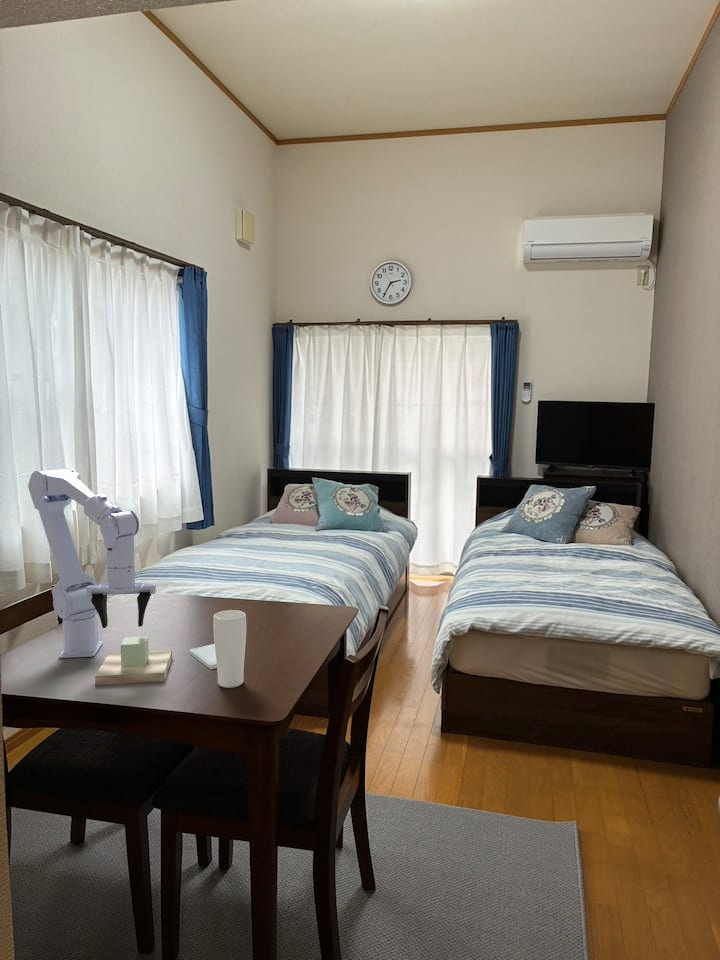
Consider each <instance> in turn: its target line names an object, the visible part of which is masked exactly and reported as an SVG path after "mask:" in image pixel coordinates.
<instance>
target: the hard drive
mask: <svg viewBox="0 0 720 960" xmlns="http://www.w3.org/2000/svg"><path fill="white" fill-rule="evenodd" d="M188 654H189V655H190V656H192V657H193V658H195V660H197V661H199V662H200V663H201V664H203V665H204V666H206V667H207V668H208V669H210V670H214V669H217V662H216V653H215V644H214V643H212V644H207V645H203V646H198V647H195V648H190V649H189V650H188Z"/></svg>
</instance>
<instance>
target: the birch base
mask: <svg viewBox="0 0 720 960" xmlns="http://www.w3.org/2000/svg"><path fill="white" fill-rule="evenodd" d="M172 661H173V649H163V650H162V649H161V650H160V649H159V650H149V659H148V661H147V663H146V665H145V666H138V667H121V651H120V652H119V651H116V652H108V654H107V656H106V657H105V659H104V661H103V662H102V664H101V666H100V667H99V669H98V670H97V672H96V674H95V675H94V679H95V680H94V681H95V682H94V683H95V684H94V685H95V686H107V685H123V684H124V685H126V684H127V685H128V684H145V683H146V684H147V683H164V682H165V681H166V678H167V675H168V673H169V669H170V666H171V663H172Z"/></svg>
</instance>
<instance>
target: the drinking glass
mask: <svg viewBox="0 0 720 960" xmlns="http://www.w3.org/2000/svg"><path fill="white" fill-rule="evenodd" d="M212 623H213V624H212V626H213V629H212V630H213V641H214V642H213V644H215V653H216V662H217V668H216V670H217V683H218V685H219V686H220V687H222V688H226V689H229V688H230V689H232V688H237V687H239V686H241V685H242V684H243V683H244V679H245V678H244V672H245V671H244V669H245V658H246V657H245V656H246V645H247V644H246V642H247V615H246V613H245V612H244V611H241V610H236V609H234V610H233V609H229V610H227V609H226V610H221V611H218V612H216V613H214V614H213V622H212Z"/></svg>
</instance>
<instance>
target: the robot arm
mask: <svg viewBox="0 0 720 960" xmlns="http://www.w3.org/2000/svg"><path fill="white" fill-rule="evenodd" d="M28 481H29V482H28V485H27V487H28V491H29V494H30V497H31V501H32V504H33V506H34V509H36V510H37V512H38V514H39V517H40V520H41V523H42V527H43V529H44V533H45V536H46V540H47V542H48V545H49V548H50V552H51V555H52V558H53V562H54V565H55V568H56V571H57V574H58V577H59V579H58V580H57V582H56V584H54V586H53V587H52V589H51V594H52V600H53V601H52V603H53V604H52V606H53V609H54V612H55V614H56V615H57V616H58V618H59V619H62V635H63V636H62V637H63V639H62V640H63V650H62V651H61V652H60V654H59V655H58V659H68V658H69V659H70V658H71V659H72V658H88V657H89V658H91V657H95V656H96V654H97V653H98V651H99V650H100V649H101V647H102V645H103V644H104V643H103V641H101V640H99V624H98V623H99V621H98V617H99V619H100V623H101V628H102V629H106V628H107V627H108V622H109V621H108V619H109V618H108V612H107V611H108V610H107V608H108V605H107V604H108V596H110V595H112V596H113V595H115V596H116V595H136V594H137V597H136V602H137V612H138V616H137V618H138V619H137V621H138V622H137V624H138V625H137V627H139V628H142V627H143V625H144V618H145V617H144V616H145V613H146V609H147V606H148V604H149V601H150V598H151V596H152V595H155V594H156V593H157V583H155V582H154V583H151V582H150V583H149V582H148V583H145V582H136V574H135V573H136V572H135V571H136V570H135V567H136V566H135V565H136V563H135V540H134V538H135V535H137V534H138V532H139V529H140V521H139V518H138V516H137V515H136V513H135V512H134V511H133V510H132V509H127V510H125V509H121V508H120V507H119V506H118V505H116V504H115V503H114V502H112V501H111V500H109V499H108V496H107V495H105V494H94V493H93V491H91V490H90V488H88V486H86V485H85V484H84V483H83V482H82V481H81V476H80V473H79V472H77V471H76V470H75V469H74V468H71V467H68V468H64V469H63V468H62V469H52V470H51V469H50V470H49V469H48V470H34V471H33V472H32V473H31V475H30V477H29V480H28ZM72 501H74V502H76V503H77V504H79V505H80V506H82V507H83V513H84V515H85V516H87V517H88V518H89V519H90V520H91V521H92V522H94V524H96V525H98V526H99V530H100V533H101V536H102V538H103V545H104V547H105V548H106V562H107V563H106V567H107V569H106V570H107V571H106V572H107V573H106V574H107V583H105V584H103V583H102V584H98V583H97V582H96V578H95V577H94V576H92V575H90V574H87V573H85V572H84V571H83V568H82V564H81V562H80V561H81V560H80V559H79V556H78V552H77V550H76V546H75V544H74V540H73V537H72V533H71V531H70V528H69V524H68V521H67V518H66V515H65V513H64V512H65V511H64V510H65V508H66V507H68V506H69V505H70V504H71V503H72ZM97 615H98V617H97Z"/></svg>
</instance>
